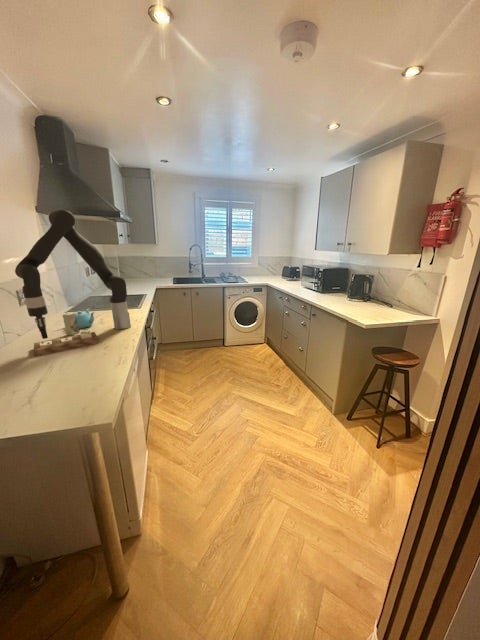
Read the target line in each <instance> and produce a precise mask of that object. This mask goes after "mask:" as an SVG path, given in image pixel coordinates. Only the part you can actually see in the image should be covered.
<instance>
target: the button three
mask: <svg viewBox="0 0 480 640" xmlns="http://www.w3.org/2000/svg"><path fill="white" fill-rule="evenodd" d="M79 335H80V337H81V339H85V338H90V337H92V335H91V331H90V330H89V331H82V332H79Z"/></svg>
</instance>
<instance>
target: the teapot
mask: <svg viewBox="0 0 480 640" xmlns="http://www.w3.org/2000/svg"><path fill="white" fill-rule="evenodd" d="M89 310H90V308H89V307H88V308H87V309H86V310H85V312H84V311H81V310H78V311H76V313H75V312H74V313H75V315H76V320H77V325H78V330H80V329H85V328H86V329H87V328H90V327H92V325H93V324H94V321H95V317H94V314H95V312H91V313H90V311H89ZM63 313H64V314H66V313H69V312H67V311H64V312H63Z"/></svg>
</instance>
